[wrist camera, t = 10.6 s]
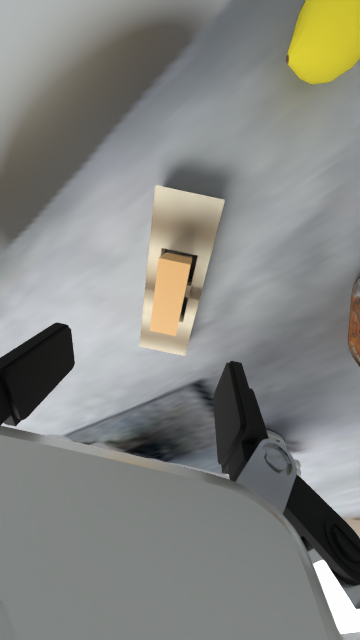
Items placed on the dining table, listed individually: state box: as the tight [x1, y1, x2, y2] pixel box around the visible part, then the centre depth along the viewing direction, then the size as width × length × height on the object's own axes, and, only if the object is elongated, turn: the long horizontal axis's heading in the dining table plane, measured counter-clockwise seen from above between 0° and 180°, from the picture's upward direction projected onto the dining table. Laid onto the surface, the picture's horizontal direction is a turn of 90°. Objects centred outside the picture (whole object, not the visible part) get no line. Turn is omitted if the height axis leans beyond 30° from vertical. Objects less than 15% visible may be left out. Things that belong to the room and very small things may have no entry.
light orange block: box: [150, 251, 193, 336], centre depth 22 cm, size 8×3×8 cm, turn 169°
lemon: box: [286, 0, 360, 85], centre depth 13 cm, size 7×5×5 cm
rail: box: [140, 185, 225, 356], centre depth 24 cm, size 20×7×3 cm, turn 169°
